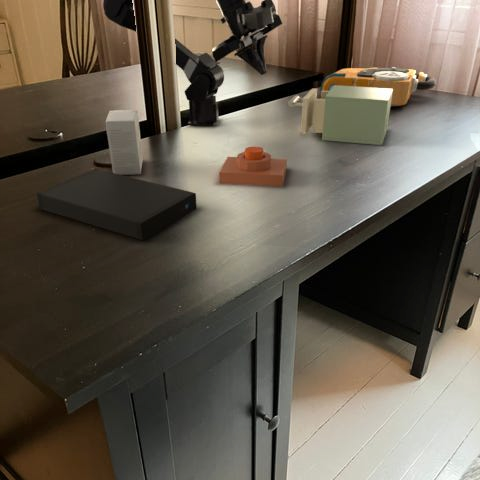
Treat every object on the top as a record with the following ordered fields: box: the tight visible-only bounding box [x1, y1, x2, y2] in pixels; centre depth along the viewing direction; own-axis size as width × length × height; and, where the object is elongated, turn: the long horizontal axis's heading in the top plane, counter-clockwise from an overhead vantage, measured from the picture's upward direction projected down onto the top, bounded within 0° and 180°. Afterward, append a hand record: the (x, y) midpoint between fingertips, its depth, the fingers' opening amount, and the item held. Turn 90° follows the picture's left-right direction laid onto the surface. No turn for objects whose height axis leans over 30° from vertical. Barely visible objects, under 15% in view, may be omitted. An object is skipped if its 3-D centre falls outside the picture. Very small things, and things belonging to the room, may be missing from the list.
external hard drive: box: [36, 168, 198, 242], centre depth 91 cm, size 14×23×3 cm, turn 58°
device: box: [320, 66, 437, 108], centre depth 152 cm, size 23×8×30 cm
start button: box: [244, 146, 265, 160], centre depth 102 cm, size 4×4×2 cm
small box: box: [105, 109, 144, 176], centre depth 106 cm, size 8×6×10 cm
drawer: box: [287, 87, 330, 135], centre depth 125 cm, size 16×10×8 cm, turn 72°
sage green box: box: [321, 85, 393, 146], centre depth 123 cm, size 14×12×10 cm
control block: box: [218, 151, 288, 187], centre depth 103 cm, size 12×9×4 cm
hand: (264, 73), depth 125 cm, fingers closed
